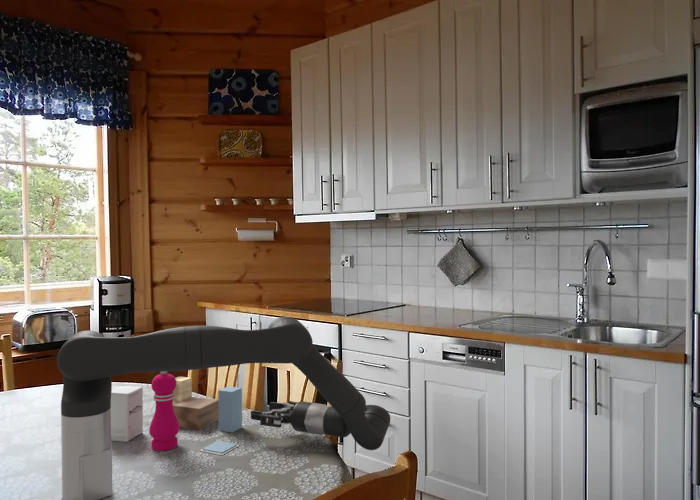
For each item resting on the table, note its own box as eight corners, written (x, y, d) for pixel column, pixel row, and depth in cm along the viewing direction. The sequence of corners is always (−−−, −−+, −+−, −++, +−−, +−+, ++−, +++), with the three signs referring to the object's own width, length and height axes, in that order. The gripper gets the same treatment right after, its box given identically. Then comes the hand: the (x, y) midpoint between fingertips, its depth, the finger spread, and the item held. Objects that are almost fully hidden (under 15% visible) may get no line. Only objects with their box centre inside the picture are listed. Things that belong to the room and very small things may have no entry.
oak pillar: (192, 414, 169) (191, 377, 168) (181, 418, 165) (181, 381, 164) (180, 412, 171) (179, 376, 170) (169, 416, 167) (169, 379, 166)
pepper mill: (143, 448, 141) (142, 369, 141) (165, 439, 147) (164, 363, 147) (164, 453, 137) (163, 372, 137) (185, 444, 144) (184, 366, 144)
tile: (239, 446, 142) (239, 444, 142) (222, 455, 136) (222, 453, 136) (217, 442, 145) (217, 440, 145) (200, 451, 139) (200, 448, 139)
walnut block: (218, 420, 163) (218, 400, 163) (199, 430, 155) (199, 408, 155) (192, 417, 166) (192, 397, 166) (173, 426, 158) (172, 405, 158)
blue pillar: (242, 427, 157) (241, 388, 156) (232, 432, 153) (231, 392, 152) (228, 425, 159) (228, 386, 158) (218, 430, 154) (218, 390, 154)
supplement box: (128, 442, 145) (127, 393, 145) (102, 440, 147) (101, 392, 147) (144, 432, 153) (143, 386, 152) (119, 431, 154) (118, 385, 154)
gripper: (326, 396, 150) (275, 389, 157) (299, 411, 138) (244, 403, 145) (326, 424, 151) (275, 416, 158) (299, 441, 138) (244, 432, 145)
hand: (260, 410), depth 151 cm, fingers open, 8 cm apart
